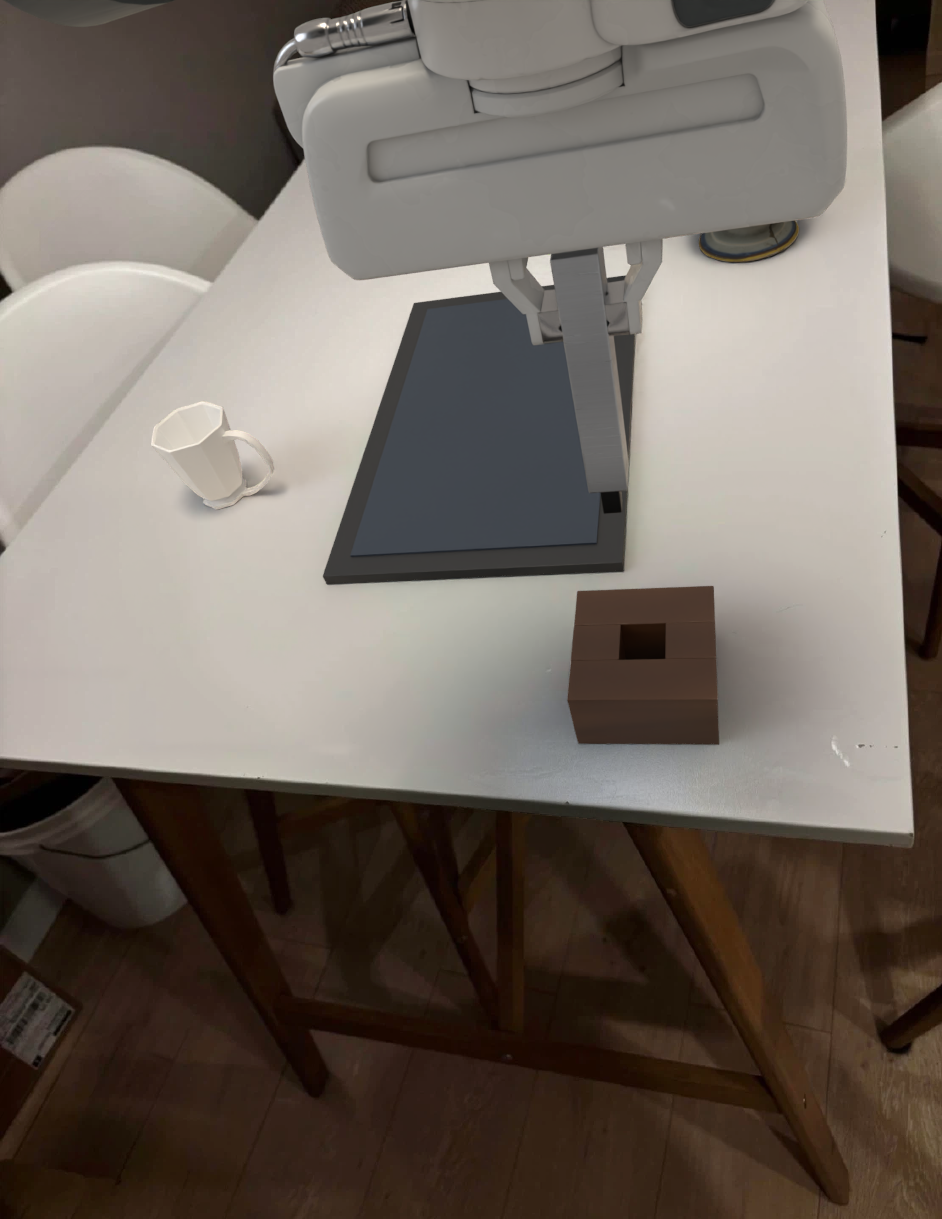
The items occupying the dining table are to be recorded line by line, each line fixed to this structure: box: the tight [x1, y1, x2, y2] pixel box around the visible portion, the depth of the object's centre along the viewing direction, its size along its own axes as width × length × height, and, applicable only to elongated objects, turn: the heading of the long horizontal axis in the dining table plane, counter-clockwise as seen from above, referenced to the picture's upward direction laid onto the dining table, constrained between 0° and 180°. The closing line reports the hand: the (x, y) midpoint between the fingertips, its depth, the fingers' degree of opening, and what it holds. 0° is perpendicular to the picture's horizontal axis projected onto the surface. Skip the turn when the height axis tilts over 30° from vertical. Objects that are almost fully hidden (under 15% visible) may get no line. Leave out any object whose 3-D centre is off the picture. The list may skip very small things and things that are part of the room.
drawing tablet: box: [322, 274, 637, 585], centre depth 81 cm, size 40×24×1 cm, turn 172°
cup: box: [150, 400, 275, 511], centre depth 80 cm, size 7×10×8 cm
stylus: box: [549, 247, 630, 514], centre depth 42 cm, size 2×2×15 cm
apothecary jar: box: [698, 220, 800, 263], centre depth 85 cm, size 12×12×18 cm
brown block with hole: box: [566, 585, 720, 746], centre depth 57 cm, size 9×9×5 cm
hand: (588, 332), depth 40 cm, fingers closed on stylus, 2 cm apart
